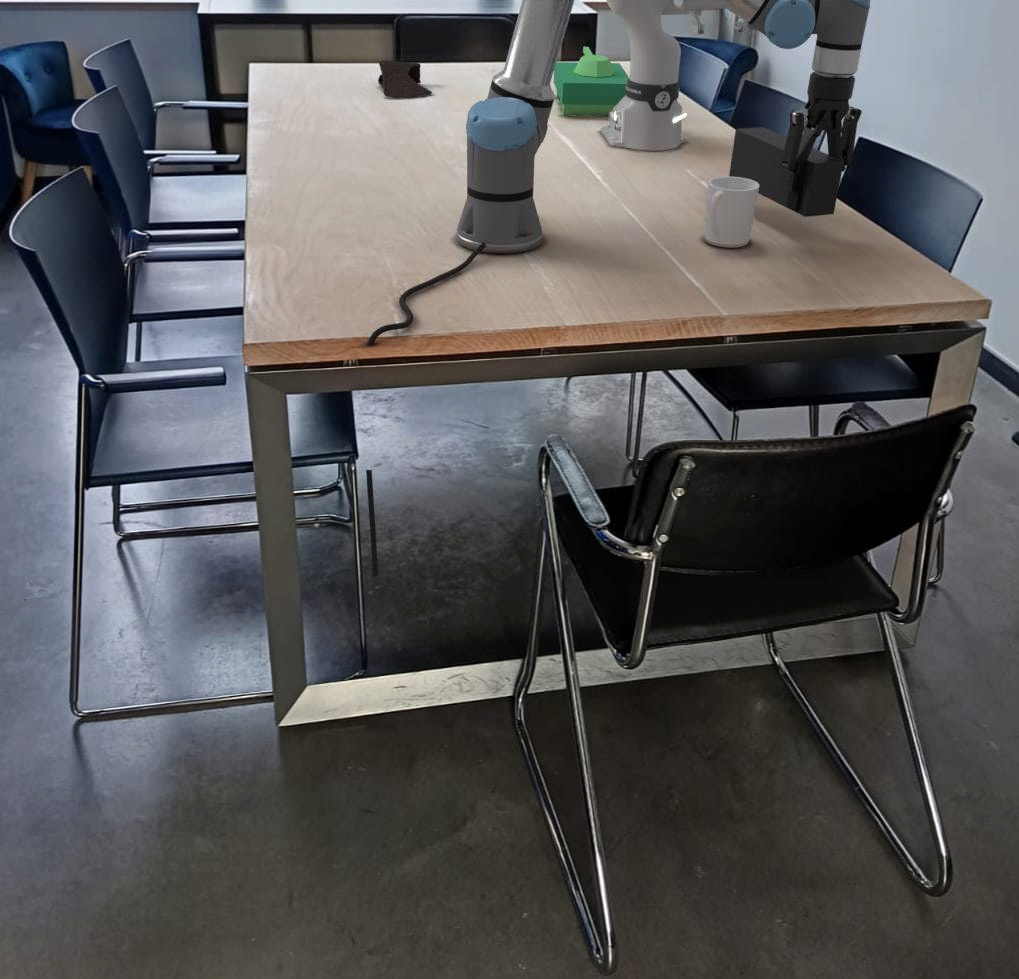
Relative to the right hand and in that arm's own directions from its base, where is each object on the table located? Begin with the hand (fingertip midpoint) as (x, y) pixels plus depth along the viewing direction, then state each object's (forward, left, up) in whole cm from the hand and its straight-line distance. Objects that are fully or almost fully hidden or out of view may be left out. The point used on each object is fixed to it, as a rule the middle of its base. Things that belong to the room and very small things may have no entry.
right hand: (718, 32), depth 218 cm
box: (+31, 0, -24) cm, 39 cm away
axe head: (-97, -44, -29) cm, 110 cm away
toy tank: (-72, +1, -29) cm, 78 cm away
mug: (+39, -15, -29) cm, 51 cm away
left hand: (+40, +1, -23) cm, 46 cm away
